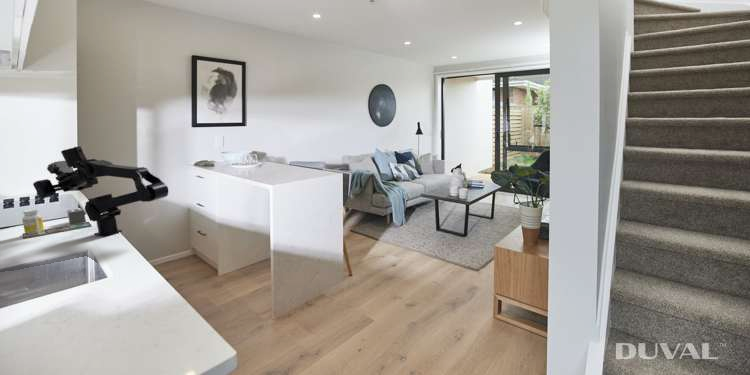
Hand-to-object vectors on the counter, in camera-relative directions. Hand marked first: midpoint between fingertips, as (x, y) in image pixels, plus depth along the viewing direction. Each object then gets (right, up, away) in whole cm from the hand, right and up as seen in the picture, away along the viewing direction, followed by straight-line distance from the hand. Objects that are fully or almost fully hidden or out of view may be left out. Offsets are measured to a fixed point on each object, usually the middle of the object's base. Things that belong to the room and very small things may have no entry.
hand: (50, 192), depth 140 cm
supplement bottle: (-5, -16, -1) cm, 17 cm away
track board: (0, -15, +3) cm, 15 cm away
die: (-1, -13, +14) cm, 19 cm away
